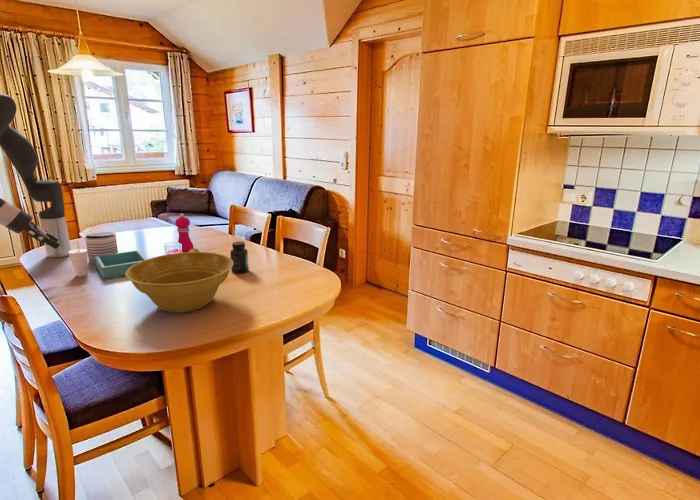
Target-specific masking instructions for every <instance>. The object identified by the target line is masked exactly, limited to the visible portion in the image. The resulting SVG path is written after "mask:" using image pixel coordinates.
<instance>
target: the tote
mask: <svg viewBox="0 0 700 500" xmlns="http://www.w3.org/2000/svg"><path fill="white" fill-rule="evenodd" d="M95 257H96V263H95V264H96V269H97V270H98V272H99V274H100V275H101V277H102V279H103V280H104V281H108V280H115V279H121V278H126V276H125V273H126V271H127V270H128V269H129V268H130V267H131V266H133V265H135V264H137V263H139V262H141V261H144V260H147V259H148V258H146V256H144V254H143V253H142V252H141V251H140V250H138V249H137V250H130V251H123V252H122V251H121V252H118V253H115V254H108V255H101V256H95Z"/></svg>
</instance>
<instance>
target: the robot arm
mask: <svg viewBox="0 0 700 500" xmlns="http://www.w3.org/2000/svg"><path fill="white" fill-rule="evenodd" d="M16 114H17V104H16V102H15V99H13V97H12V96H10V95H8V94H5V93H0V148H2V150H3V152H4V154H5V155H6V157H7V158H8V160H9V161H10V162H11V164H12V166H13V167H14V169H15V170H16V172H17V173H18V175H19V177H20V178H21V181H22V182H23V185H24V186H25V188H26V190H27V192H28V194H29V195H30V197H31V198H32V200H33V201H35V202H37V203H50V204H51V205H50V206H49V207H47V208H45V209H42V210H40V211H39V212H38V217H39V222H40V226H39V225H38V224H36V223H34V222H33V219H34V218H33V216H32V215H31V214H28V213H27V212H25V211H24V210H22V209H20V208H19V207H17V206H16V205H14V204H12V203H10V202H7V201H6V200H4V199H2V198H1V197H0V225H1V226H3V227H4V228H6V229H8V230H10V231H12V232H14V233H16V234H20V233H21V232H23V231H25V232H26V235H27V236H29V237H31V238H33V239H35V240H36V241H38V242H40V243H41V244H44V246H45V247H44V249H45V252H46V257H48V258H61V257H67V256H69V255H68V252H69V251H71V250H72V248H71V241H70V240H71V239H70V237H69V231H68V225H67V220H66V214H65V203H64V201H65V200H64V194H63V193H64V192H63V188H62V185H61V183H60V182H59V181H58V180H52V179H51V180H49V179H48V180H46V179H44V180H43V179H42V180H39V179H38V178H37V177H36V175H35V172H36V169H37V166H38V162H39V155H38V154H37V151H36V150H35V148H34V146H33V144H32V143H31V142H30V140H29V139H27V138H26V137H25V136H24V135H23V134H22V133H20V132H19V131H18V130H16V129H15V128H13V127H12V126H11V125H10V124H11V123H12V122H13V119H15V117H16Z"/></svg>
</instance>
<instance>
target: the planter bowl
mask: <svg viewBox="0 0 700 500" xmlns="http://www.w3.org/2000/svg"><path fill="white" fill-rule="evenodd" d="M146 259H147V260H144V261H141V262H139V263H137V264H135V265H133V266H131V267H130V268H129V269H128V270H127V271H126V273H125V276H126V277H125V278H126V279H127V280H129V281H130V282H131V283H132V285H133V286H134V288H135V289H136V290H137V291H138V292H141V293H143V294H144V295H145V294H146V295H147V296H148V298H149V299H150V301H152V303H153V304H154V305H155V306H157V307H158V308H159V309H161V310H163V311H166V312H168V313H189V312H193V311H197V310H198V309H202V308H203V307H205V306H206V305H207V304H209V303H211V302H212V300H213V298H214V297H215V295H216V293H217V291H218V289H219V287H220V285H221V284H223V282H225V281H226V279H228V278H227V277H228V276H229V273H230V270H231V268H232V267H233V265H234V262H233V260H232V259H231V257H229V256H228V255H224V254H220V253H216V252H205V251H199V252H185V253H179V252H177V253H170V254H164V255H159V256H155V257H154V256H153V257H150V258H146Z"/></svg>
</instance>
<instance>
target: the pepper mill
mask: <svg viewBox="0 0 700 500" xmlns="http://www.w3.org/2000/svg"><path fill="white" fill-rule="evenodd" d="M174 222H175V223H174V224H175V226H176V227H177V228H176V229H177V232H178V239H177V242H179V243H181V244H182V252H183V253H185V252H189V251H190V250H191V249H194V248H195V247H194V244H193V241H192V240H191V238H190V233H189V232H190V226H191V221H190V219H189V218H188V217H187V216H185V214H184V213H180V214H179V216H178V217H177V218H176V219H175V221H174Z"/></svg>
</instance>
